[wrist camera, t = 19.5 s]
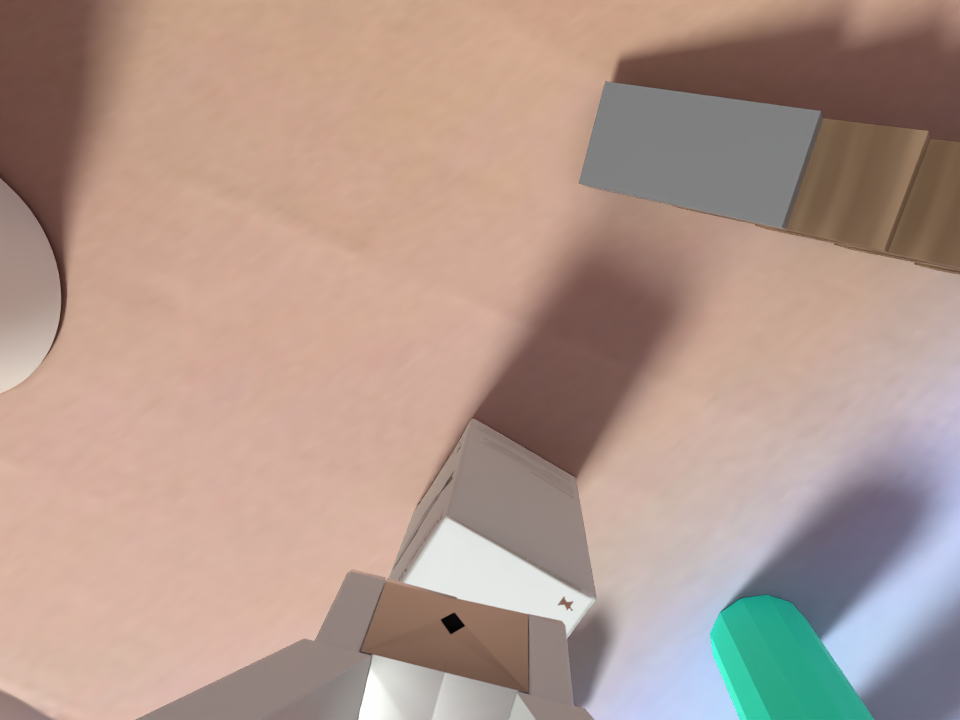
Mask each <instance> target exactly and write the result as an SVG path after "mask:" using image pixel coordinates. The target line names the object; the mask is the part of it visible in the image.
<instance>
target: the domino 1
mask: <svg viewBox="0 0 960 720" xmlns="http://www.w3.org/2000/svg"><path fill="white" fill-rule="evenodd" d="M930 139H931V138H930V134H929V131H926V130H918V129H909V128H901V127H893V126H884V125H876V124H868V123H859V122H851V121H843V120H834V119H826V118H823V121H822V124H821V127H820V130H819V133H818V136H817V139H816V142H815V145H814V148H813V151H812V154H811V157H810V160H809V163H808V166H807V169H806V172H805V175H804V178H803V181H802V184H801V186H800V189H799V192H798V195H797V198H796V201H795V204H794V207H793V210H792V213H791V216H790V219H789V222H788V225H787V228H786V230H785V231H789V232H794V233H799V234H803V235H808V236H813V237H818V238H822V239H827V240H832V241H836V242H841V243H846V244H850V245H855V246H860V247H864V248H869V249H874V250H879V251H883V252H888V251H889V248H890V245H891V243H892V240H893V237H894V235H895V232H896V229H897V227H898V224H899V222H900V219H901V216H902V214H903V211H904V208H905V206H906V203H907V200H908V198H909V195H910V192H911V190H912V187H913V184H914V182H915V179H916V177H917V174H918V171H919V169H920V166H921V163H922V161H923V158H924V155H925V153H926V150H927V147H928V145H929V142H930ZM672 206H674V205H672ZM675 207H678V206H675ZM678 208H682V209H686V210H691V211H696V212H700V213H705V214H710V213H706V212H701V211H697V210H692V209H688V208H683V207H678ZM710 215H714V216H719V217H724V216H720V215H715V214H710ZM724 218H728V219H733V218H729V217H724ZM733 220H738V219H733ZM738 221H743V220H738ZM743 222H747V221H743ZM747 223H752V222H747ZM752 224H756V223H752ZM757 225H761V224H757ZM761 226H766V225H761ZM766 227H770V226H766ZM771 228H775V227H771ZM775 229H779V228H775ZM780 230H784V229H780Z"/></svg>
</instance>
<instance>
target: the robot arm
mask: <svg viewBox="0 0 960 720" xmlns="http://www.w3.org/2000/svg"><path fill="white" fill-rule="evenodd" d="M60 311H61V287H60V279H59V273H58V268H57V264H56V261H55V257H54V254H53V251H52V249H51V246H50V244H49V241H48V239H47V237H46V235H45V233H44V231H43V229H42V227H41V226H40V224H39V222H38V221H37V219H36V218H35V216H34V215H33V213H32V212H31V210H30V209H29V208H28V207H27V205H26V204H25V203H24V202H23V200H22V199H21V198H20V197H19V196H18V195H17V194H16V193H15V192H14V191H13V190H12V189H11V188H10V187H9V186H8V185H7V184H6V183H5V182H4V181H3V180H2V179H1V178H0V393H2V392H4V391H7V390H9V389H11V388H13V387H14V386H16V385H18V384H19V383H20V382H22V381H23V380H25V379H26V378H27V377H28V376H29V375H31V374H32V372H33V371H34V370H35V369H36V368H37V367H38V366H39V365H40V363H41V362H42V361H43V359H44V358H45V356H46V355H47V353H48V351H49V349H50V347H51V345H52V343H53V340H54V338H55V335H56V332H57V328H58V324H59V319H60ZM136 720H594V719H593V718H592V716H591V715H590V714H589V713H588V712H587V710H586V709H585V708H581V707H577V706H574V700H573V691H572V681H571V672H570V662H569V653H568V643H567V634H566V625H565V624H564V623H563V621H560V620H555V619H551V618H546V617H541V616H536V615H531V614H525V613H521V612H516V611H512V610H507V609H503V608H498V607H494V606H489V605H484V604H480V603H475V602H471V601H466V600H462V599H457V597H455V596H451V595H447V594H443V593H440V592H436V591H432V590H429V589H425V588H421V587H418V586H414V585H410V584H406V583H403V582H399V581H395V580H392V579H387V580H386V579H385V577H381V576H377V575H373V574H369V573H364V572H360V571H356V570H351V571H350V572H348V573H347V575H346V577H345V579H344V581H343V583H342V585H341V587H340V589H339V591H338V593H337V596H336V598H335V600H334V602H333V604H332V606H331V608H330V610H329V612H328V614H327V616H326V618H325V621H324V623H323V625H322V627H321V629H320V631H319V633H318V635H317V637H316V639H315V641H312V640H308V639H302V640H300V641H298V642H296V643H294V644H292V645H290V646H287V647H285V648H283V649H281V650H279V651H277V652H275V653H273V654H271V655H269V656H267V657H265V658H263V659H261V660H258V661H256V662H254V663H252V664H250V665H248V666H246V667H244V668H242V669H240V670H238V671H236V672H234V673H231V674H229V675H227V676H225V677H223V678H221V679H219V680H217V681H215V682H213V683H211V684H209V685H207V686H205V687H202V688H200V689H198V690H196V691H194V692H192V693H190V694H188V695H186V696H184V697H182V698H180V699H178V700H175V701H173V702H171V703H169V704H167V705H165V706H163V707H161V708H159V709H157V710H155V711H153V712H151V713H149V714H146V715H144V716H142V717H140V718H138V719H136Z"/></svg>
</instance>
